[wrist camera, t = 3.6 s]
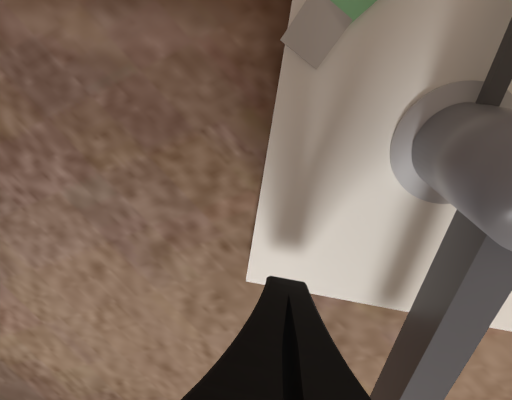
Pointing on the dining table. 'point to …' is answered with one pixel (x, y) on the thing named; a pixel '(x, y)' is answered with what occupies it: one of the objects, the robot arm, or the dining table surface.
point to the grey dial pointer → (459, 240)
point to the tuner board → (366, 143)
